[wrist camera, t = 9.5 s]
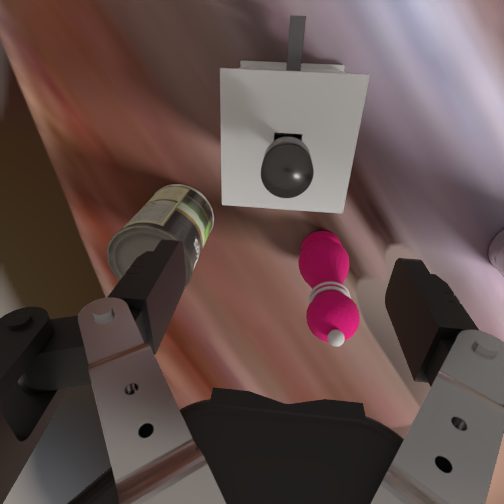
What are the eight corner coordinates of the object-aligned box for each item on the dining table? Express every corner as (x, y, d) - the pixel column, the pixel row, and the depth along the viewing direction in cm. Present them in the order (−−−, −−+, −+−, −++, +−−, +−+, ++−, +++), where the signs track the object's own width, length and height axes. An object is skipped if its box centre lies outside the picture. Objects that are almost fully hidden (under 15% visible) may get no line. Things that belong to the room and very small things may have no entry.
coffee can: (224, 200, 49) (203, 248, 37) (202, 252, 54) (177, 309, 42) (158, 171, 47) (114, 211, 36) (142, 228, 53) (99, 280, 41)
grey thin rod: (328, 80, 38) (366, 107, 20) (317, 155, 43) (340, 234, 24) (253, 77, 39) (222, 100, 20) (251, 151, 43) (223, 226, 25)
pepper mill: (295, 230, 50) (298, 321, 33) (343, 224, 49) (372, 315, 32) (300, 268, 54) (306, 368, 37) (345, 264, 53) (372, 365, 36)
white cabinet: (348, 28, 37) (384, 15, 23) (327, 165, 45) (344, 215, 31) (242, 25, 37) (216, 9, 24) (240, 160, 45) (219, 206, 32)
